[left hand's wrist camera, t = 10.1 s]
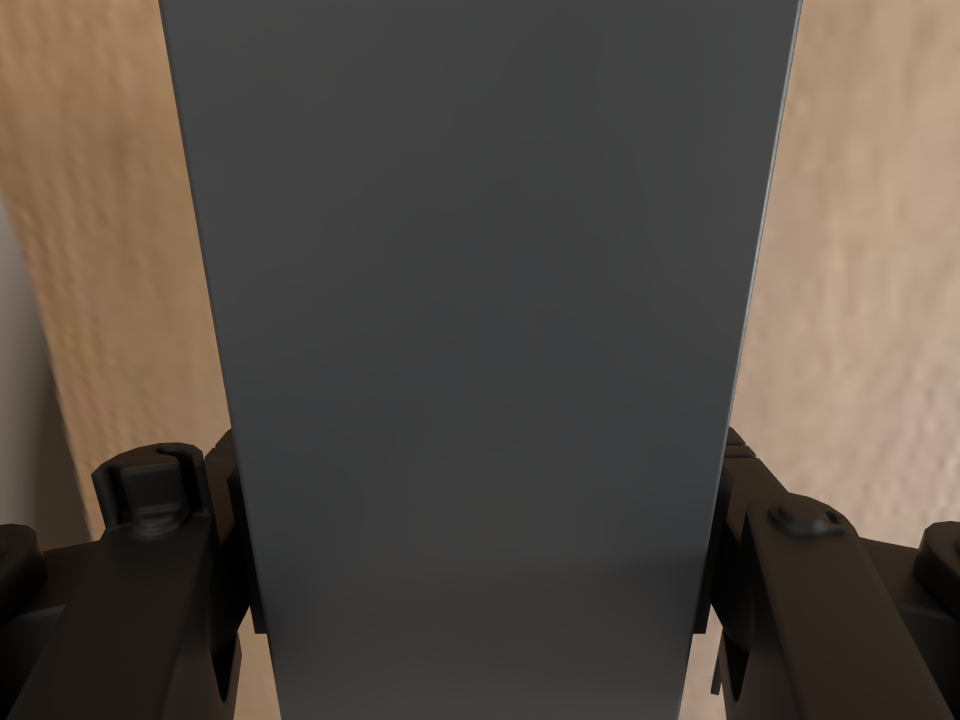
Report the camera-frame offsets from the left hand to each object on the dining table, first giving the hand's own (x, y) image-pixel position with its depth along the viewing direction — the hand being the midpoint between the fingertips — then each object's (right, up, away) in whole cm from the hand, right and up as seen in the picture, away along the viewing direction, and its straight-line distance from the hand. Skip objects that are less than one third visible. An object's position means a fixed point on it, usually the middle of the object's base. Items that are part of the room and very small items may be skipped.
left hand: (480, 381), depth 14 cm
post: (0, -24, +10) cm, 26 cm away
